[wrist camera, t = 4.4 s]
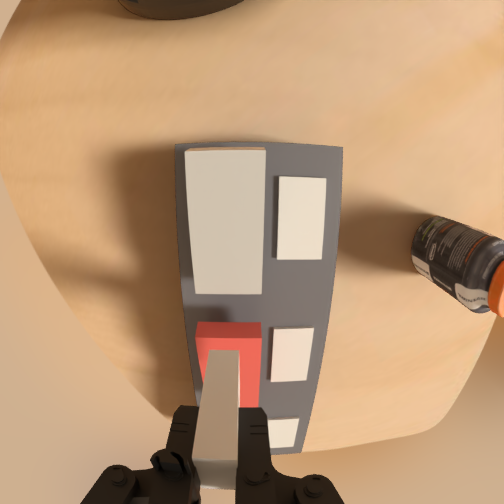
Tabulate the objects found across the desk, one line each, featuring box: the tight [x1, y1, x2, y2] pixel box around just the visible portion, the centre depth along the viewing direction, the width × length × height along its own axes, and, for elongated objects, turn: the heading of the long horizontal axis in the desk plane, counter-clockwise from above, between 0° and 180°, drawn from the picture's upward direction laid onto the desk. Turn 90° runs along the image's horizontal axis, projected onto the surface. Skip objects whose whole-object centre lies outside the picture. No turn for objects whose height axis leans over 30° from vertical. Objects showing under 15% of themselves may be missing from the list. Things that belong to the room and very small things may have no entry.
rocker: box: [185, 147, 266, 294], centre depth 15 cm, size 8×4×1 cm, turn 0°
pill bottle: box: [411, 216, 504, 318], centre depth 17 cm, size 6×6×11 cm
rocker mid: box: [195, 322, 262, 407], centre depth 18 cm, size 8×4×1 cm, turn 0°
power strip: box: [175, 142, 343, 455], centre depth 22 cm, size 29×10×6 cm, turn 0°
